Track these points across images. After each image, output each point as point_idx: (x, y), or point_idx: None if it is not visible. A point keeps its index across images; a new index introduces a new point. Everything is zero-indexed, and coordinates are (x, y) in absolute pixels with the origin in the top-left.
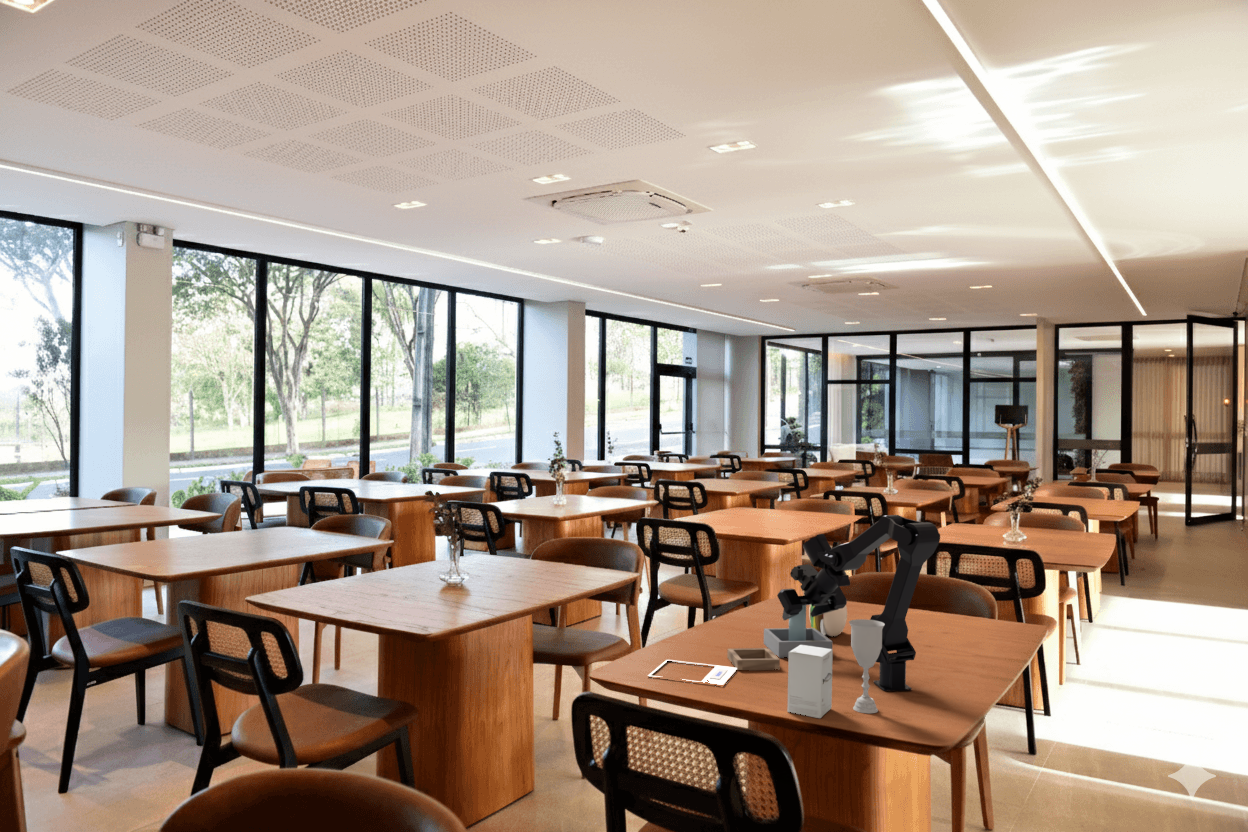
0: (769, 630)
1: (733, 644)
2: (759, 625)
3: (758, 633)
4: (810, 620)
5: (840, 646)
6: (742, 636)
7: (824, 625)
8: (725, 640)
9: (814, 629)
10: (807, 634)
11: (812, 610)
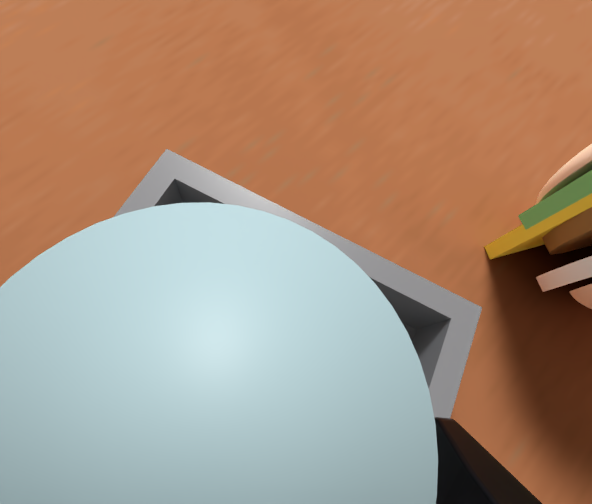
0: (157, 199)
1: (36, 129)
2: (394, 3)
3: (302, 71)
4: (547, 189)
5: (525, 465)
6: (198, 65)
7: (584, 287)
8: (70, 67)
9: (457, 341)
10: (406, 311)
11: (463, 474)
